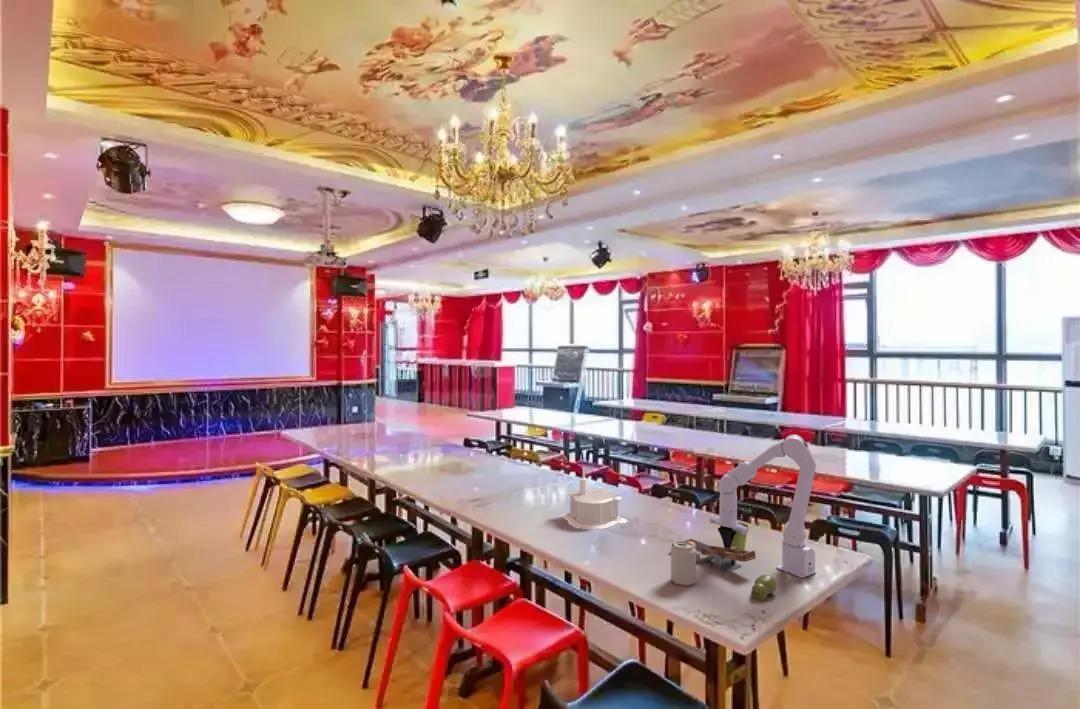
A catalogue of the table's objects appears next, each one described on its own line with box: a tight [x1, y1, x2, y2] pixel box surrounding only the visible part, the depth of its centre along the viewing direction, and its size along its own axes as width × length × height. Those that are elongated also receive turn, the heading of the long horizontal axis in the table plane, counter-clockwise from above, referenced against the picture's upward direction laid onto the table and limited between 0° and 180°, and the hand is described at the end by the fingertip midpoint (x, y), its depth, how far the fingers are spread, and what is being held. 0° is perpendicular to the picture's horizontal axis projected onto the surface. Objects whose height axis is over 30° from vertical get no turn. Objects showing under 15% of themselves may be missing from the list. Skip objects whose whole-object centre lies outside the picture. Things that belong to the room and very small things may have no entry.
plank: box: [701, 545, 757, 563], centre depth 187 cm, size 18×13×2 cm
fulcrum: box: [708, 553, 742, 574], centre depth 186 cm, size 6×9×5 cm, turn 123°
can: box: [670, 540, 697, 587], centre depth 173 cm, size 8×8×12 cm
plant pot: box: [731, 521, 750, 551], centre depth 202 cm, size 9×9×9 cm
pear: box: [750, 574, 777, 602], centre depth 165 cm, size 6×5×10 cm
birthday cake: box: [561, 467, 629, 529], centre depth 236 cm, size 30×29×22 cm
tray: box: [671, 538, 714, 564], centre depth 196 cm, size 12×10×3 cm
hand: (727, 548), depth 193 cm, fingers closed, pressing on plank
